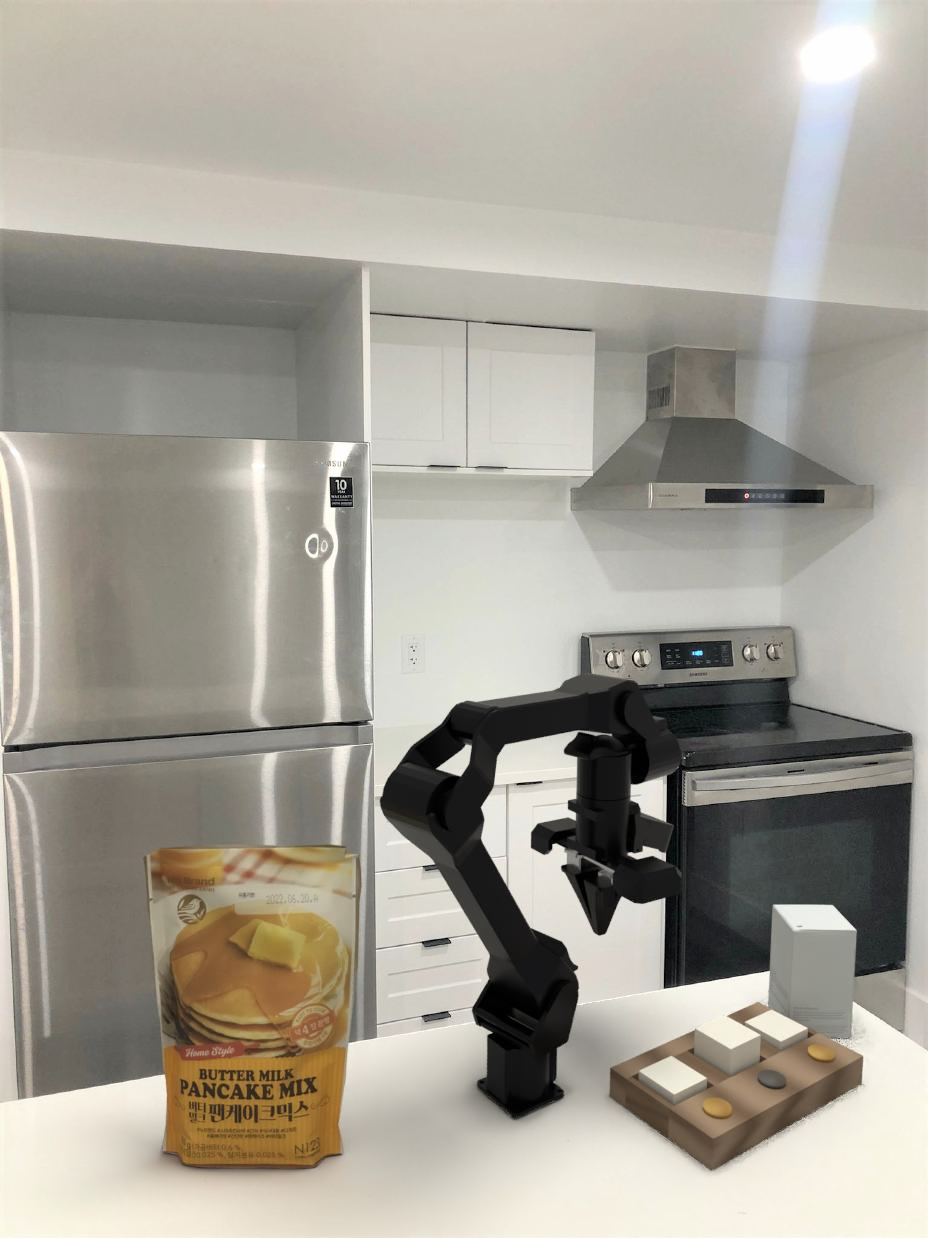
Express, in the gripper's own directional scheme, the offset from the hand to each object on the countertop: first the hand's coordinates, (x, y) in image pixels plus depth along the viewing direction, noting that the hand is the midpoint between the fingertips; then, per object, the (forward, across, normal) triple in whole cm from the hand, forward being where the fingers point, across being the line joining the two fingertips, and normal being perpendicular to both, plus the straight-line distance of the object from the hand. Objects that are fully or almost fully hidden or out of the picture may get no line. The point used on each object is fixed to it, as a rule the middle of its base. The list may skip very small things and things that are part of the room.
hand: (599, 934), depth 101 cm
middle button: (+11, -12, -7) cm, 17 cm away
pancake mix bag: (+13, +3, +38) cm, 40 cm away
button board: (+13, -13, -7) cm, 20 cm away
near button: (+12, -12, +1) cm, 18 cm away
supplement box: (+13, -8, -24) cm, 29 cm away
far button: (+12, -11, -15) cm, 23 cm away
